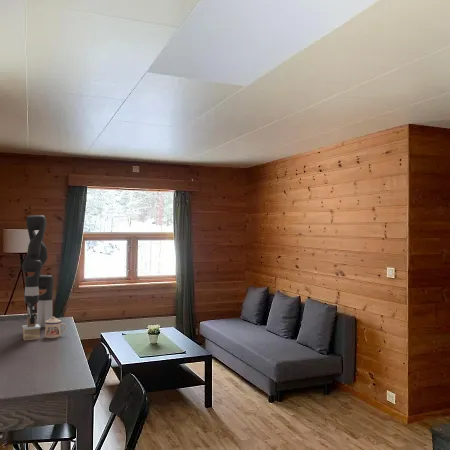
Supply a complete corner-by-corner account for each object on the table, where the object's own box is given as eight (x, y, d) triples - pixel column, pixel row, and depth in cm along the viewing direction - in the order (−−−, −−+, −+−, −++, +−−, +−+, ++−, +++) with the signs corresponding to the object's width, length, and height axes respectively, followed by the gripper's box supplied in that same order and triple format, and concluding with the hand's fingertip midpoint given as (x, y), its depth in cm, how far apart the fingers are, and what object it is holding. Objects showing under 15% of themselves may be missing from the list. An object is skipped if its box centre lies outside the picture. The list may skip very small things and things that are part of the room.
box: (22, 337, 271) (22, 327, 271) (37, 336, 275) (37, 325, 275) (24, 340, 264) (24, 329, 264) (39, 338, 268) (39, 328, 268)
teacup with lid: (44, 338, 268) (44, 318, 268) (44, 335, 277) (44, 315, 277) (66, 337, 273) (66, 317, 273) (65, 334, 281) (66, 314, 281)
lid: (22, 328, 271) (22, 316, 271) (37, 327, 276) (38, 315, 276) (24, 331, 264) (24, 319, 264) (40, 330, 268) (40, 317, 268)
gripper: (23, 293, 274) (22, 321, 274) (26, 296, 262) (26, 325, 262) (36, 292, 278) (36, 320, 278) (40, 295, 266) (40, 324, 265)
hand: (31, 322), depth 270 cm, fingers open, 7 cm apart
